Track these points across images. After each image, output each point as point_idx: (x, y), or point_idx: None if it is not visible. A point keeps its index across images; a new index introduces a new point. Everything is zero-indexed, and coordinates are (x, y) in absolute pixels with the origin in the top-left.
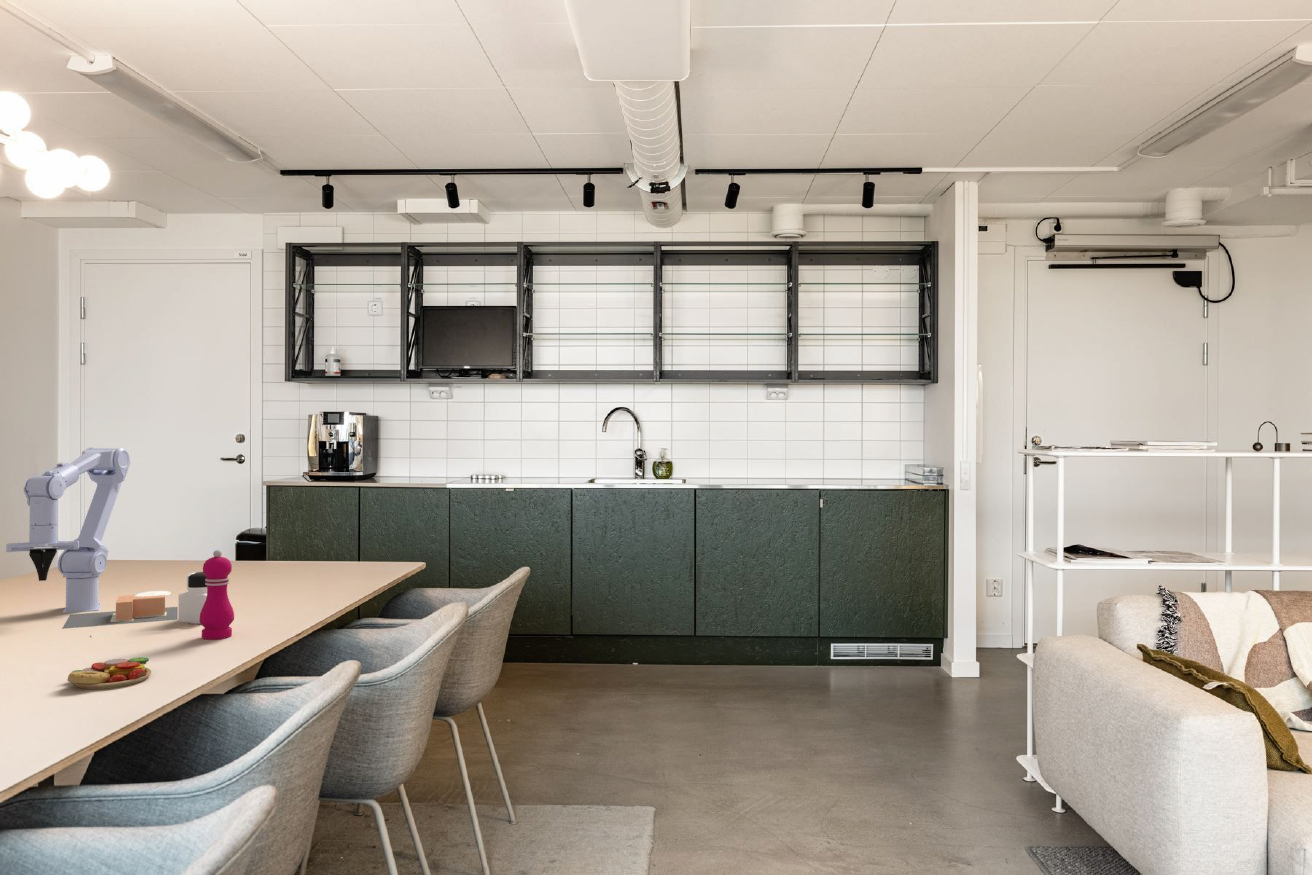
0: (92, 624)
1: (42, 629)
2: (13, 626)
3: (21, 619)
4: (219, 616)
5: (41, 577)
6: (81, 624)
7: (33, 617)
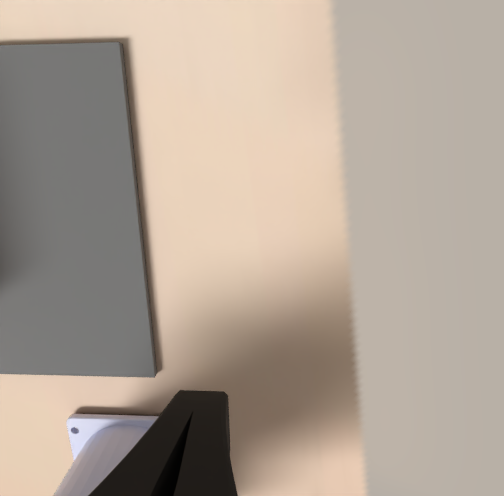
0: (4, 94)
1: (213, 110)
2: (340, 244)
3: (324, 383)
4: None
5: (200, 406)
6: (54, 116)
7: (285, 403)
